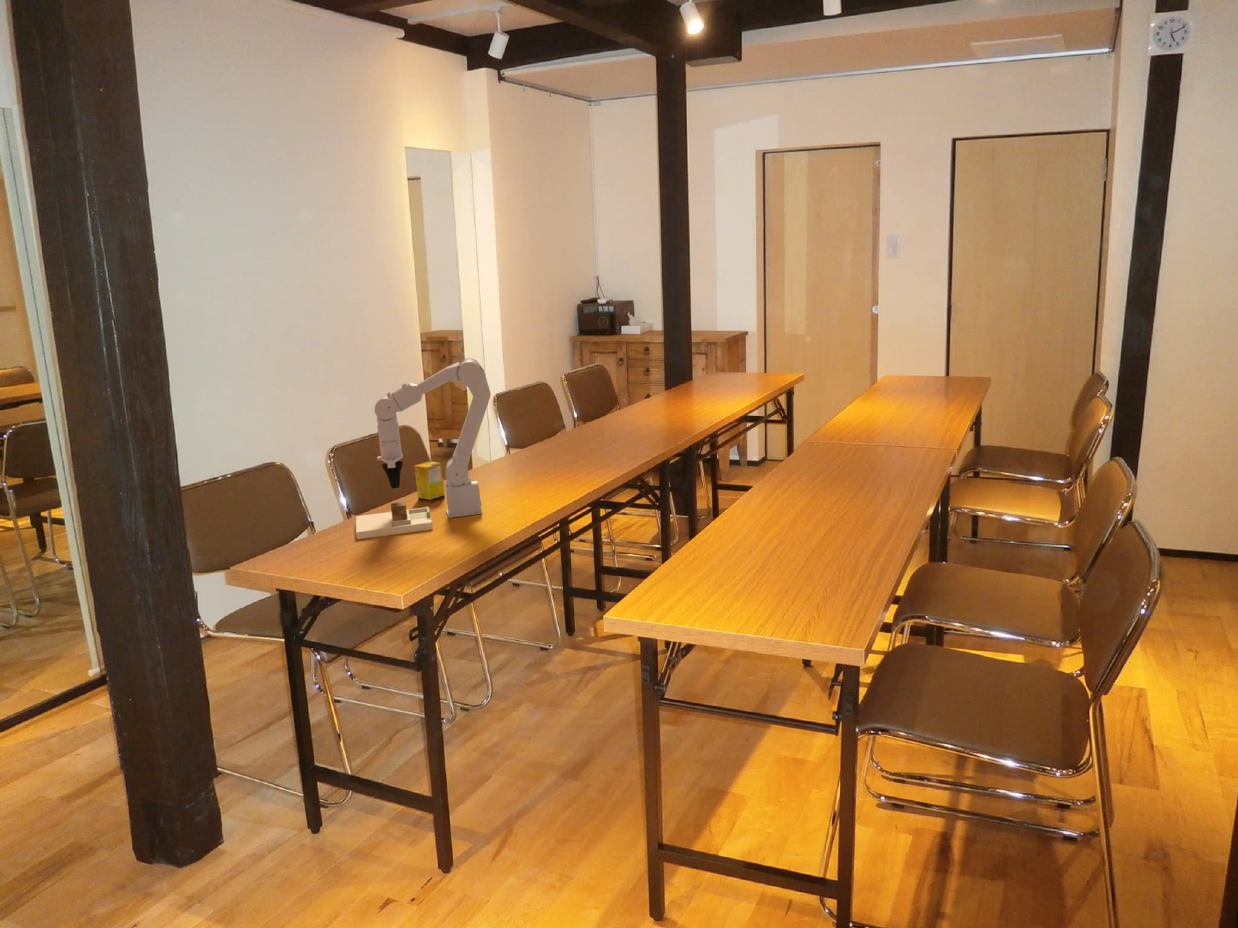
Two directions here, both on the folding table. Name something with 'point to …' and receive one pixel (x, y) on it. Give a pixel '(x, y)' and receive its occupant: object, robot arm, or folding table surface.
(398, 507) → the block
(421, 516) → the deck
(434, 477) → the supplement box
